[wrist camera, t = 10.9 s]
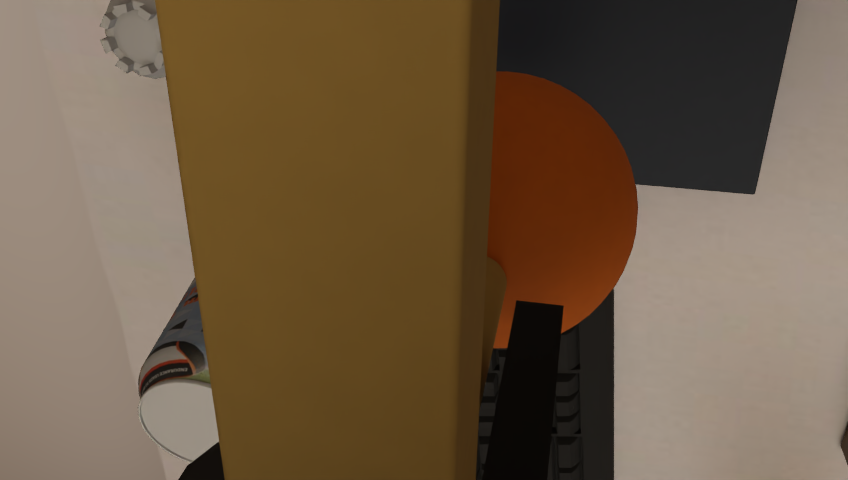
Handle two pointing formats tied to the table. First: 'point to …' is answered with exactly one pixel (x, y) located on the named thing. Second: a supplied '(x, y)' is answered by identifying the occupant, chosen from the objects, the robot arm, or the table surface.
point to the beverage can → (179, 386)
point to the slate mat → (663, 77)
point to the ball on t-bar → (376, 223)
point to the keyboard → (571, 401)
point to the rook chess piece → (134, 37)
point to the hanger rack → (845, 445)
